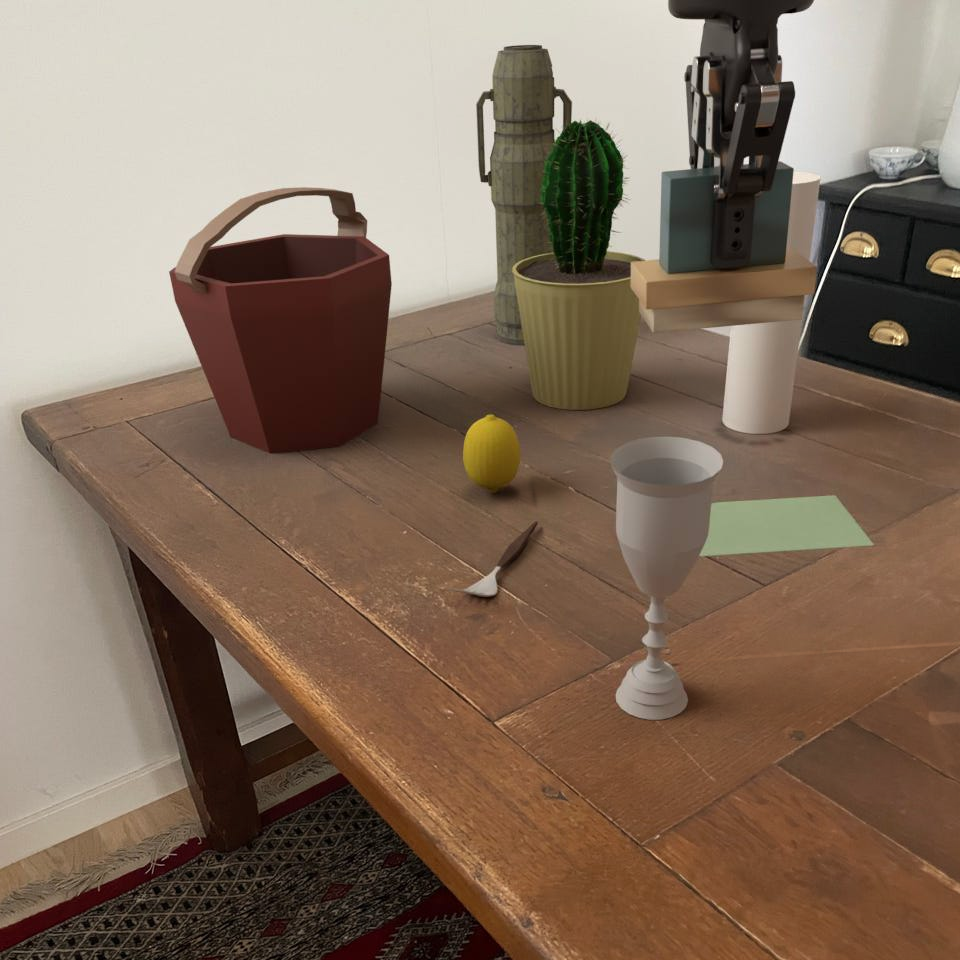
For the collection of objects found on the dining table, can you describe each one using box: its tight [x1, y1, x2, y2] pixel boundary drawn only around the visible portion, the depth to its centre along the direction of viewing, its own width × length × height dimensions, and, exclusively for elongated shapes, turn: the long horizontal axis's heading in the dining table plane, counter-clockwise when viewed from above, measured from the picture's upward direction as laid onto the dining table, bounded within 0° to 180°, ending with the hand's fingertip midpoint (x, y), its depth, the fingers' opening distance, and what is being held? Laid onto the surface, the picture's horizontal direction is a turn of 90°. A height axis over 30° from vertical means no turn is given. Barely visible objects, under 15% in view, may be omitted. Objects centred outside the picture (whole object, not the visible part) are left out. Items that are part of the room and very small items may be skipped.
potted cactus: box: [512, 118, 647, 411], centre depth 115 cm, size 15×15×30 cm
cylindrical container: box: [721, 170, 822, 435], centre depth 106 cm, size 7×7×25 cm
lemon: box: [462, 414, 521, 494], centre depth 99 cm, size 6×6×8 cm
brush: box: [631, 161, 818, 334], centre depth 61 cm, size 10×5×8 cm, turn 94°
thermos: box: [475, 44, 573, 346], centre depth 133 cm, size 9×12×35 cm
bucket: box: [168, 186, 393, 454], centre depth 111 cm, size 24×22×25 cm
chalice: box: [609, 436, 724, 721], centre depth 67 cm, size 7×7×18 cm
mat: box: [698, 494, 875, 558], centre depth 92 cm, size 16×10×1 cm, turn 93°
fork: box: [451, 521, 539, 598], centre depth 88 cm, size 3×16×2 cm, turn 156°
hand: (722, 259), depth 61 cm, fingers closed on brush, 2 cm apart
